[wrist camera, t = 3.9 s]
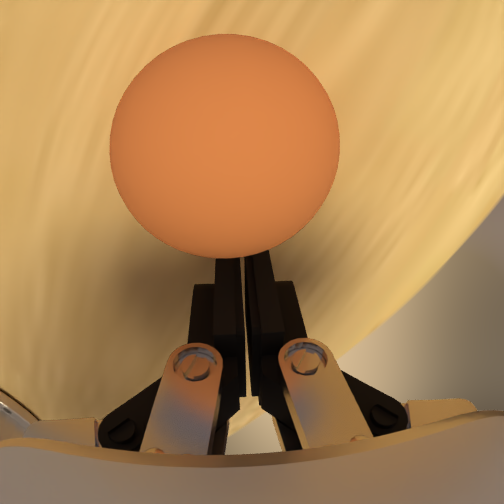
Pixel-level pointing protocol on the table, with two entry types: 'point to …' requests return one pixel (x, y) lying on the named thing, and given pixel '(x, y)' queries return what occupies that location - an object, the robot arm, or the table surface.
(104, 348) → the table surface
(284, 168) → the ball
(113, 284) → the table surface
